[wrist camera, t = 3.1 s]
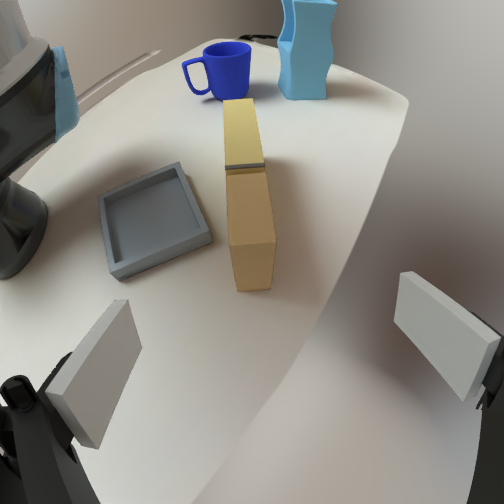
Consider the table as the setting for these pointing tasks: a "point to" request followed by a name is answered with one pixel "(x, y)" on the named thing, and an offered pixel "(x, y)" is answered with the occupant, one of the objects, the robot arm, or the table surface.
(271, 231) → the stub
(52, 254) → the table surface
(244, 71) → the mug
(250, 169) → the grey-ended yellow block
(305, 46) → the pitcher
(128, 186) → the tray
